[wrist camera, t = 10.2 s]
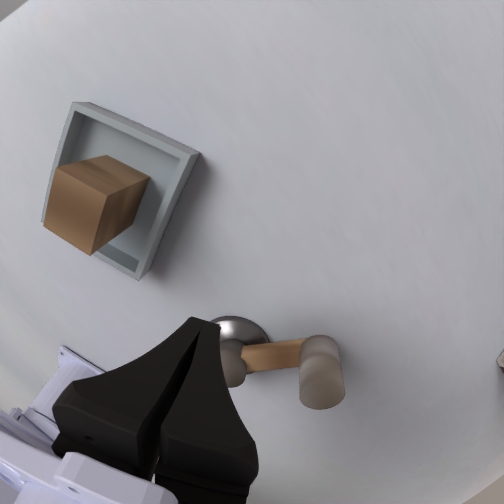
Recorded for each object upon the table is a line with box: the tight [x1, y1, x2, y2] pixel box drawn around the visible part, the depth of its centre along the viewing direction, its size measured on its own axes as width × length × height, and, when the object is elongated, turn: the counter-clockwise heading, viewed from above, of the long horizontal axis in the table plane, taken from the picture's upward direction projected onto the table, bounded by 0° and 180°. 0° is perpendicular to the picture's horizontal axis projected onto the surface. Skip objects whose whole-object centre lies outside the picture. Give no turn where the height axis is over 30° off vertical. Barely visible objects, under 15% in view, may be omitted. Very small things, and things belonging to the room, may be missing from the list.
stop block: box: [43, 155, 150, 256], centre depth 19 cm, size 4×4×6 cm
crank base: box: [210, 316, 269, 374], centre depth 26 cm, size 6×6×1 cm
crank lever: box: [220, 335, 345, 410], centre depth 22 cm, size 10×3×6 cm, turn 103°
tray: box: [41, 102, 200, 281], centre depth 21 cm, size 10×10×2 cm
